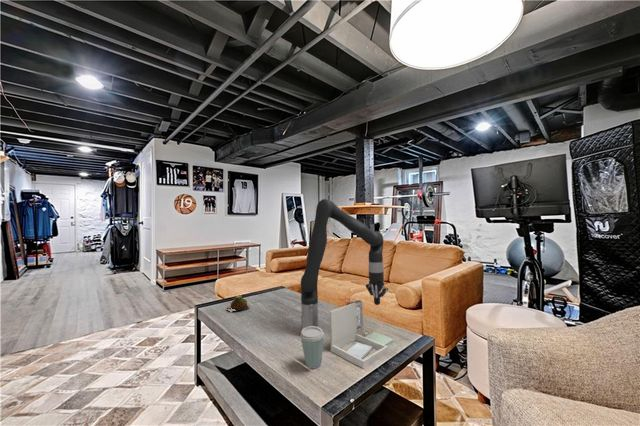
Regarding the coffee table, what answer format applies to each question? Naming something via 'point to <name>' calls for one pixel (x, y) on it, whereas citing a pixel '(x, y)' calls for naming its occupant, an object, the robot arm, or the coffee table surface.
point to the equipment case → (351, 336)
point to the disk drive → (358, 312)
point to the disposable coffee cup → (312, 345)
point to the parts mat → (380, 338)
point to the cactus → (239, 303)
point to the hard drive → (360, 350)
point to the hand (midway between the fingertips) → (377, 304)
